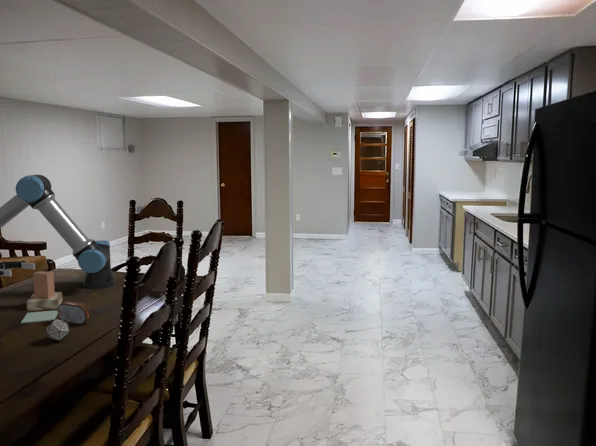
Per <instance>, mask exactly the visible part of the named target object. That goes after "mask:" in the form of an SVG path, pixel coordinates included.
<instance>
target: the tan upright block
mask: <svg viewBox="0 0 596 446" xmlns="http://www.w3.org/2000/svg"><path fill="white" fill-rule="evenodd" d="M54 276H55V275H54V271H44V270H43V271H42V270H39V271H36V272H33V273H32V279H33V280H32V281H33V290H34V291H33V292H34V293H33V294H34V295H35V298H46V299H49V298H51V297H54V296H55V292H56V291H55V277H54Z"/></svg>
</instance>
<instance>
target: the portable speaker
mask: <svg viewBox="0 0 596 446" xmlns="http://www.w3.org/2000/svg"><path fill="white" fill-rule="evenodd" d="M56 310H57V312H58V314H57V316H58V318H59V320H63V321H64V320H65V319H66V321H65V322H66V323H69V324H75V325H80V326H81V325H85V324H87V323H88V322H90V320H91V319H92V312H91V310H90V308H89V306H88V305H87V304H85V303H82V302H77V301H71V300H70V301H69V300H65V301H62V302H61V304H60V305H59V306H58V308H57V309H56Z"/></svg>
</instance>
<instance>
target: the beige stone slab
mask: <svg viewBox="0 0 596 446" xmlns="http://www.w3.org/2000/svg"><path fill="white" fill-rule="evenodd" d="M61 303H63V292H62V291H57V292H56V291H55V296H54V297H51V298H49V299H46V298H35V295H34V293H32V295H30V296H29V298H28V300H27V301H26V311H27V312H29V311H31V312H33V311H44V309H45V310H54V309H55V310H57V308H58V306H59V305H60V304H61Z"/></svg>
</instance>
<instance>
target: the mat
mask: <svg viewBox="0 0 596 446" xmlns="http://www.w3.org/2000/svg"><path fill="white" fill-rule="evenodd" d="M57 316H58V312H57V309H55V310H47V311H44V310H43V311H34V312H33V311H31V312H27V313H26V314H25V316H24V317H23V318H22V320H21V322H20V323H21V324H28V323H39V322H53V321H54V320H56V319H55V318H56V317H57ZM52 320H53V321H52Z"/></svg>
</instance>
